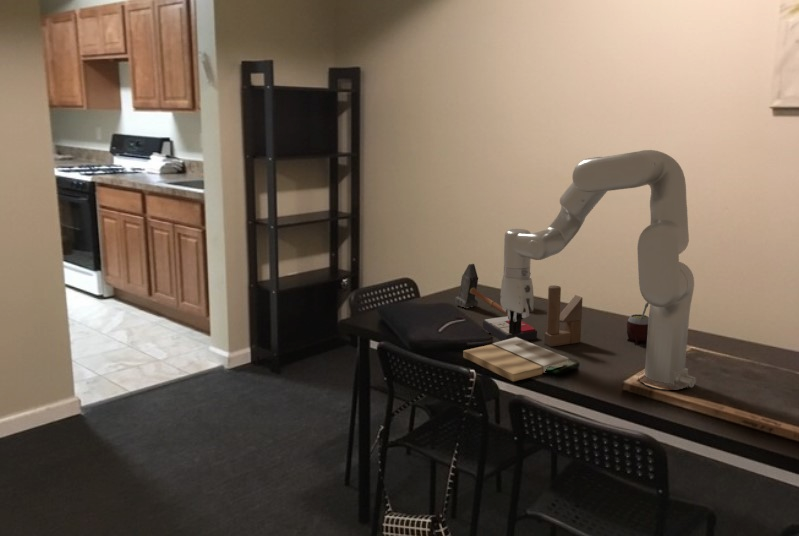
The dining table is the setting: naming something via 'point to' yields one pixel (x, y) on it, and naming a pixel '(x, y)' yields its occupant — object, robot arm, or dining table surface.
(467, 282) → the hammer
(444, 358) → the dining table surface
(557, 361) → the ash plank
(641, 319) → the mate gourd
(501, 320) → the calculator
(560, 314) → the wooden block
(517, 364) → the oak board
